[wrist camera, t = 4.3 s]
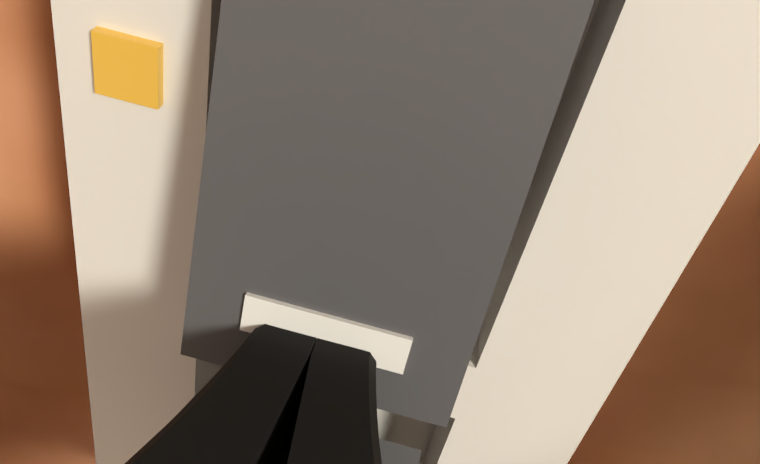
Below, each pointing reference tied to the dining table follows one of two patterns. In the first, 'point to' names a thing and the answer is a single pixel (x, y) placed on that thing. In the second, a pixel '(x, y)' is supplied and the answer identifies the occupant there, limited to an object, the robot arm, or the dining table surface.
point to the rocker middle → (372, 176)
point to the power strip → (526, 251)
